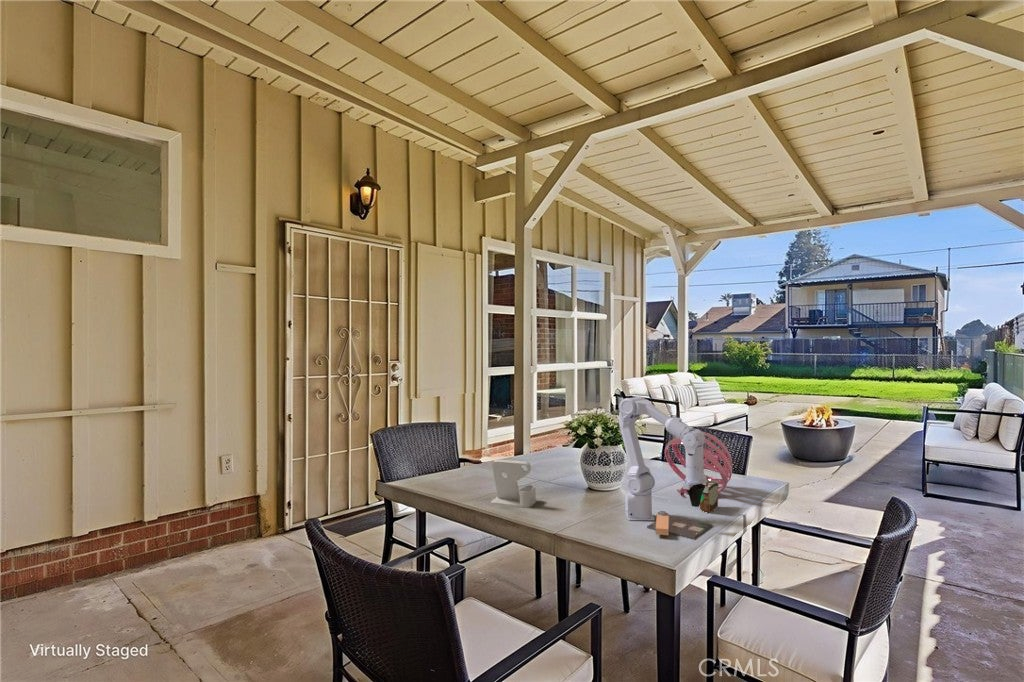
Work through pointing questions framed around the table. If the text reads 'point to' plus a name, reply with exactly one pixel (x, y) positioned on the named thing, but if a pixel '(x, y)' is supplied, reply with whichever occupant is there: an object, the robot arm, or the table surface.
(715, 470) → the spiral basket
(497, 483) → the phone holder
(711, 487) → the food container
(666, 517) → the swing bar
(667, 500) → the table surface
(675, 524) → the label plate
